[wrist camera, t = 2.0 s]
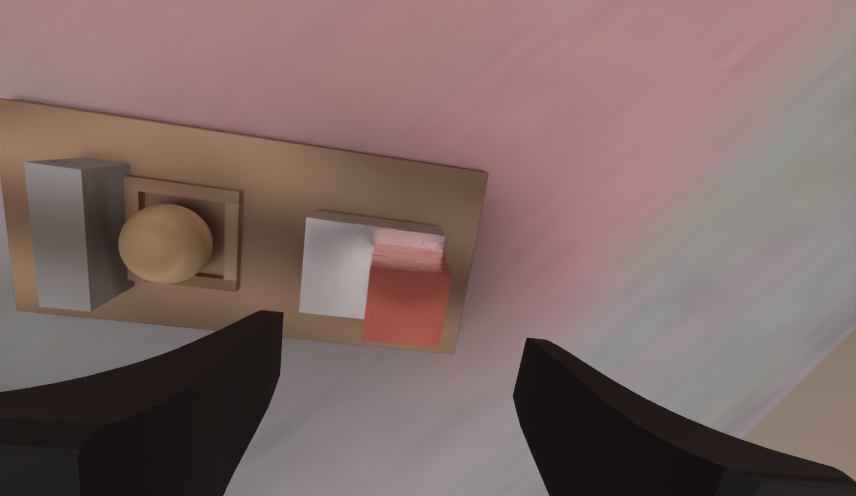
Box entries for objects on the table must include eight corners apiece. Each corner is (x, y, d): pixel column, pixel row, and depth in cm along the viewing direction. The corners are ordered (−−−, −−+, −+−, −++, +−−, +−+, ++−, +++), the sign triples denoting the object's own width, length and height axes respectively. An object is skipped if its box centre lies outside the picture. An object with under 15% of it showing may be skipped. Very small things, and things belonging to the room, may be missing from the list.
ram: (427, 310, 21) (436, 363, 16) (307, 296, 20) (279, 348, 15) (440, 226, 20) (455, 257, 15) (314, 209, 19) (286, 236, 14)
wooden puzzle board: (451, 343, 24) (462, 386, 20) (37, 300, 21) (-47, 340, 17) (483, 171, 21) (503, 180, 17) (16, 99, 19) (-90, 90, 15)
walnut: (224, 272, 20) (190, 300, 17) (150, 263, 20) (99, 290, 17) (226, 203, 19) (190, 218, 16) (147, 193, 19) (94, 206, 16)
